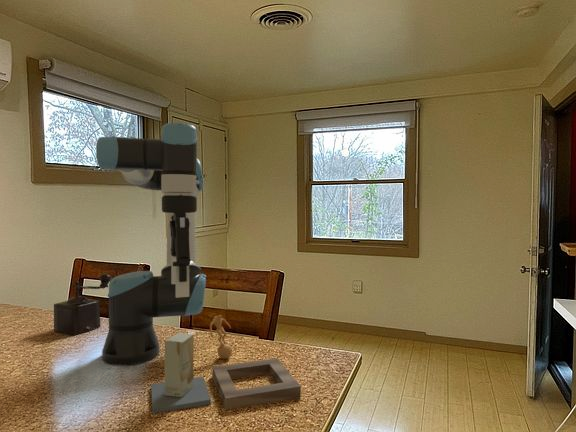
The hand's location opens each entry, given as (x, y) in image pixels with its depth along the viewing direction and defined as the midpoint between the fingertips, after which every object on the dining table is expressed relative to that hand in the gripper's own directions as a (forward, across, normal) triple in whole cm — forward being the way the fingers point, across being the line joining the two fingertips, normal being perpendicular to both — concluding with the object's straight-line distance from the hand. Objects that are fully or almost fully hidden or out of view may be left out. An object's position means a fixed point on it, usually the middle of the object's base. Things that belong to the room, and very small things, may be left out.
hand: (179, 289), depth 89 cm
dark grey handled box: (+25, +61, +27) cm, 71 cm away
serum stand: (+24, -1, -17) cm, 29 cm away
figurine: (+24, +19, -13) cm, 33 cm away
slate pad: (+24, 0, 0) cm, 24 cm away
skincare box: (+23, 0, 0) cm, 23 cm away
